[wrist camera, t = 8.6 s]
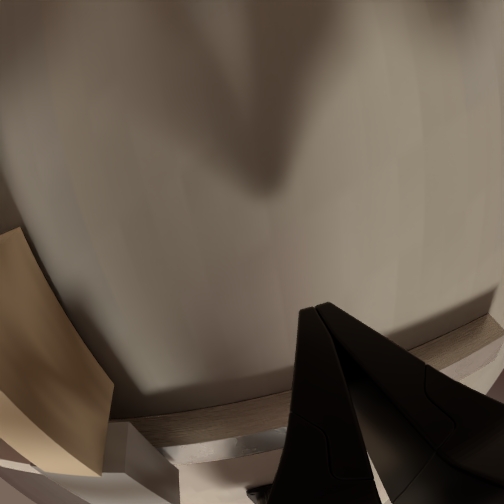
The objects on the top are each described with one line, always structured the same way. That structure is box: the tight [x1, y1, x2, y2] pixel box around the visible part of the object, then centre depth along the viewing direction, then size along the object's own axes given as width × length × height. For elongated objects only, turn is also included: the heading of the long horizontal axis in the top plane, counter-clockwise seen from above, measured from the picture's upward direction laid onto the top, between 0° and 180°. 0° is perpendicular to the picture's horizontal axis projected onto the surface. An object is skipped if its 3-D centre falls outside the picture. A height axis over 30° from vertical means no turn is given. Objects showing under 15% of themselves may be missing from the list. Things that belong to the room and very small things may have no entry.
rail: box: [108, 313, 504, 465], centre depth 14 cm, size 2×31×2 cm, turn 101°
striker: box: [0, 227, 180, 504], centre depth 10 cm, size 14×5×5 cm, turn 11°
